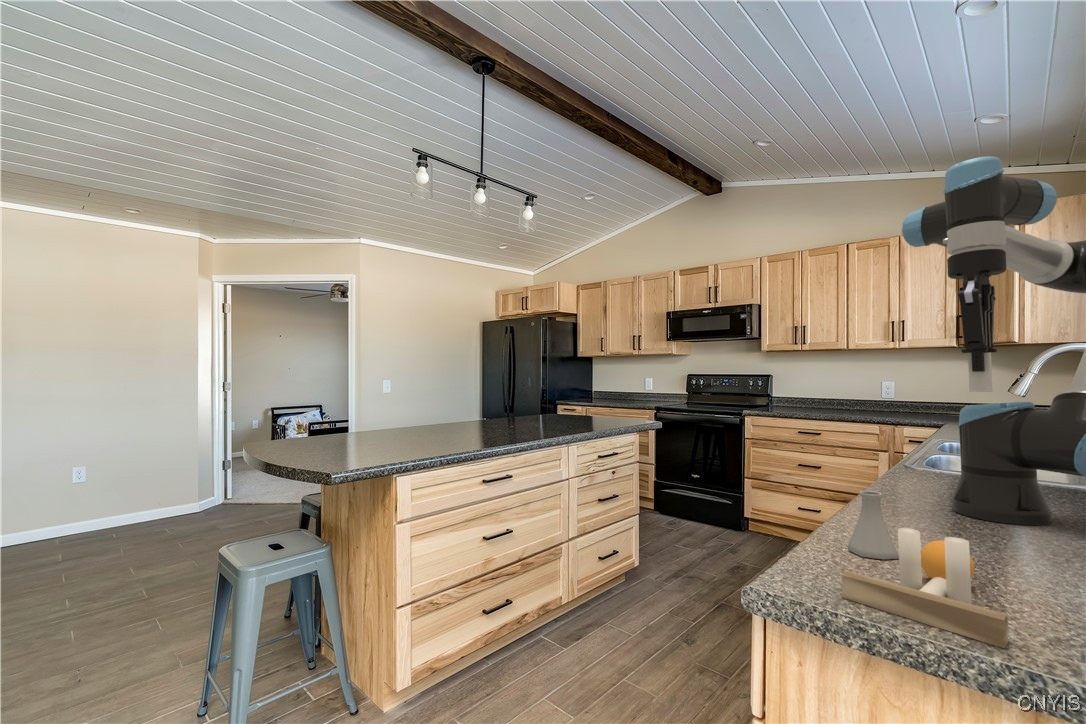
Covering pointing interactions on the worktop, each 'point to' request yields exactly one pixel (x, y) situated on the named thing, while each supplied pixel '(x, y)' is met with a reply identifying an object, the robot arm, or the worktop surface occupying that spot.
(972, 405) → the robot arm
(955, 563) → the pin
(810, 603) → the worktop surface
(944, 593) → the pin front
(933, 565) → the ball
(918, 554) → the pin
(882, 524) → the flask
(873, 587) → the back wall
